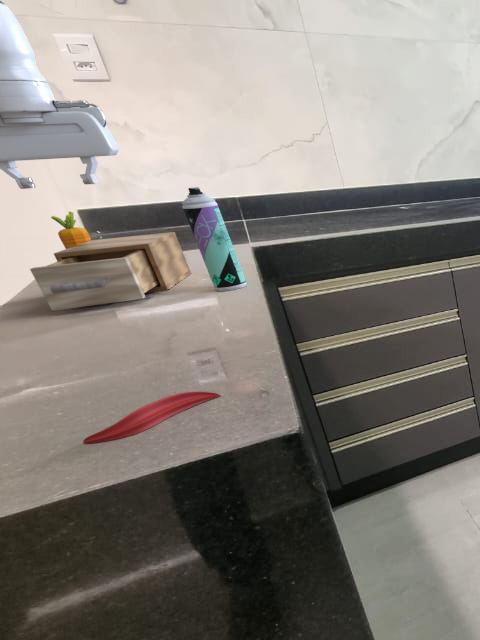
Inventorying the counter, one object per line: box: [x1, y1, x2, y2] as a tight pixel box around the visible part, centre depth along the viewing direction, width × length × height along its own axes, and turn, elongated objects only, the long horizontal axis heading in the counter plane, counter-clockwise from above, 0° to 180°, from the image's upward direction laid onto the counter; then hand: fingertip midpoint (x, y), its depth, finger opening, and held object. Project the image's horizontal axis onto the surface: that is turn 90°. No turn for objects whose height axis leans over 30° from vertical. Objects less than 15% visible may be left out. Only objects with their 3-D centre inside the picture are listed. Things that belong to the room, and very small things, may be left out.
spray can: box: [181, 186, 248, 292], centre depth 106 cm, size 6×6×20 cm
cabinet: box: [53, 231, 192, 294], centre depth 113 cm, size 16×15×10 cm
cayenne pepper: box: [82, 391, 222, 444], centre depth 58 cm, size 12×5×2 cm, turn 138°
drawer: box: [29, 249, 160, 312], centre depth 102 cm, size 19×14×8 cm
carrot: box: [50, 211, 92, 249], centre depth 125 cm, size 5×5×15 cm
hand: (60, 186), depth 96 cm, fingers open, 7 cm apart
